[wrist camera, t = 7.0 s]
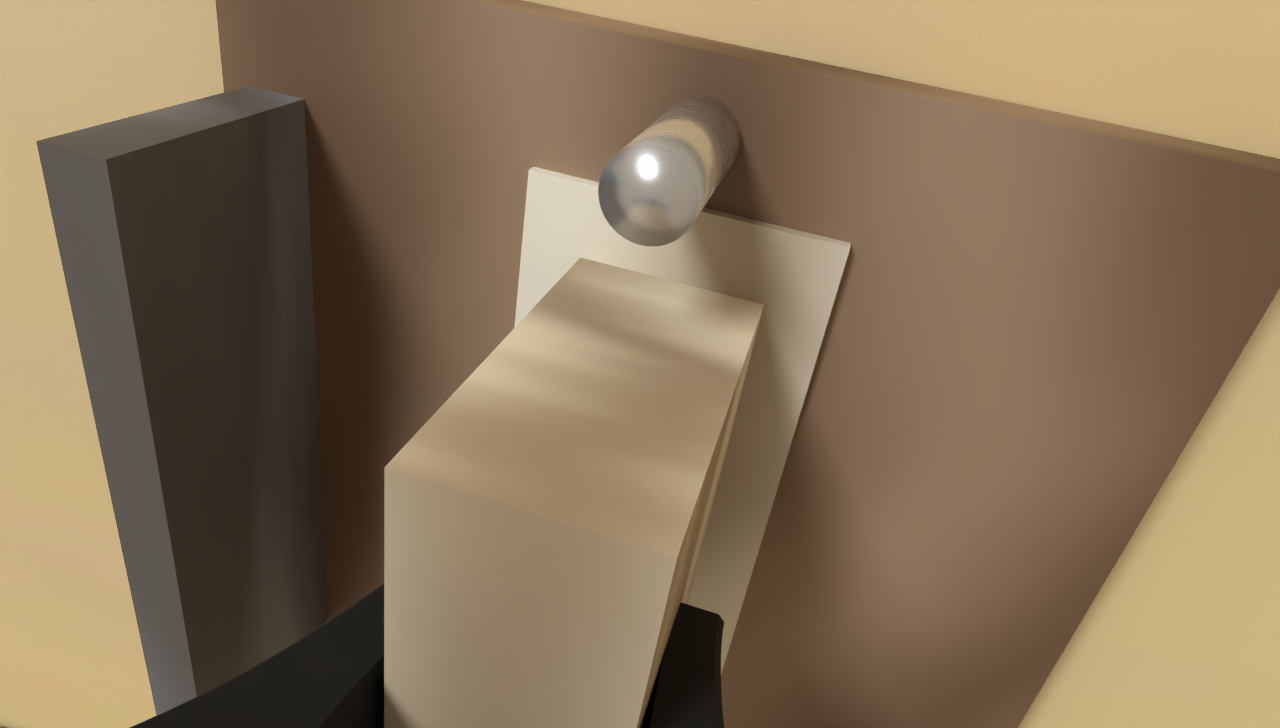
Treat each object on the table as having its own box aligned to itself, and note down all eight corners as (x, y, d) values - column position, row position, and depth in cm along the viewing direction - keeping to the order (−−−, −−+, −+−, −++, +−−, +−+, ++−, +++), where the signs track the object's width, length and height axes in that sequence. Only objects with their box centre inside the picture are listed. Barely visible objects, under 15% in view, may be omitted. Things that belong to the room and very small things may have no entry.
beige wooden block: (526, 675, 18) (383, 967, 13) (580, 257, 13) (384, 467, 8) (657, 720, 18) (562, 1040, 13) (763, 304, 13) (676, 557, 8)
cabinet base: (301, 626, 22) (155, 800, 17) (253, -56, 14) (-39, -45, 9) (922, 842, 19) (930, 1105, 15) (1306, 164, 11) (1559, 314, 7)
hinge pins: (558, 738, 19) (507, 863, 17) (667, 88, 12) (606, 133, 9) (607, 755, 19) (563, 884, 17) (749, 105, 12) (708, 157, 9)
